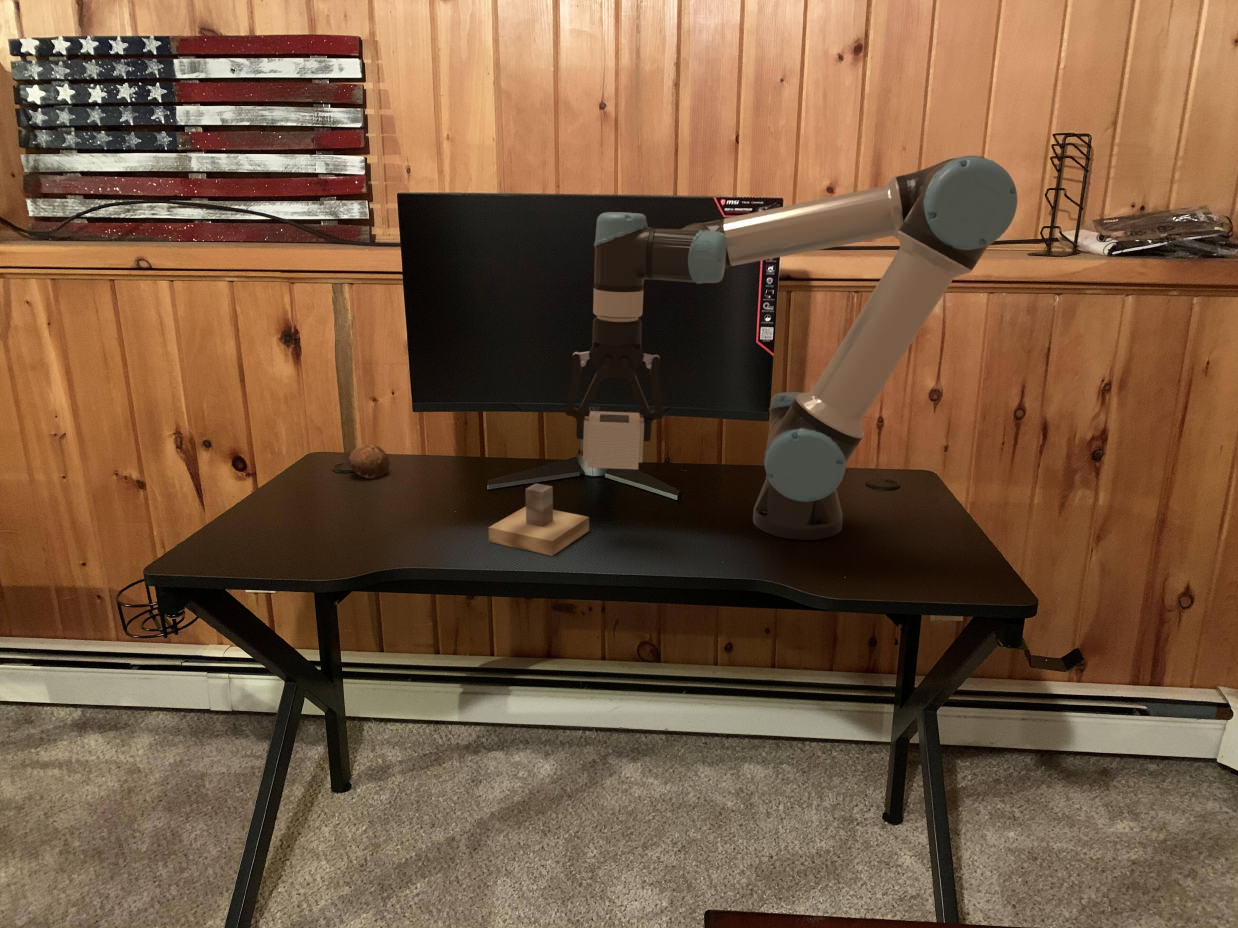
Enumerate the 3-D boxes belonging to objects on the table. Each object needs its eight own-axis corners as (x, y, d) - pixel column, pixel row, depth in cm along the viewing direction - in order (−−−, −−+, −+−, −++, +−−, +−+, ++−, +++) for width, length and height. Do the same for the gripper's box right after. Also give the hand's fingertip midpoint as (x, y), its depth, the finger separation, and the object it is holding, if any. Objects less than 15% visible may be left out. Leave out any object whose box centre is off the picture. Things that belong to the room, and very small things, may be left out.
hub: (637, 454, 152) (639, 412, 149) (638, 469, 144) (640, 426, 142) (589, 452, 152) (590, 411, 149) (587, 467, 144) (588, 424, 142)
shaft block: (589, 530, 155) (589, 483, 152) (552, 555, 145) (551, 505, 142) (528, 518, 160) (527, 471, 158) (488, 541, 150) (487, 492, 147)
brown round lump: (343, 454, 184) (354, 433, 180) (381, 464, 188) (393, 443, 184) (342, 483, 178) (353, 462, 175) (381, 493, 182) (393, 472, 179)
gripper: (684, 315, 144) (676, 454, 151) (551, 311, 144) (549, 449, 151) (687, 323, 137) (679, 468, 144) (547, 318, 137) (545, 464, 144)
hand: (612, 458), depth 148 cm, fingers closed on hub, 8 cm apart
